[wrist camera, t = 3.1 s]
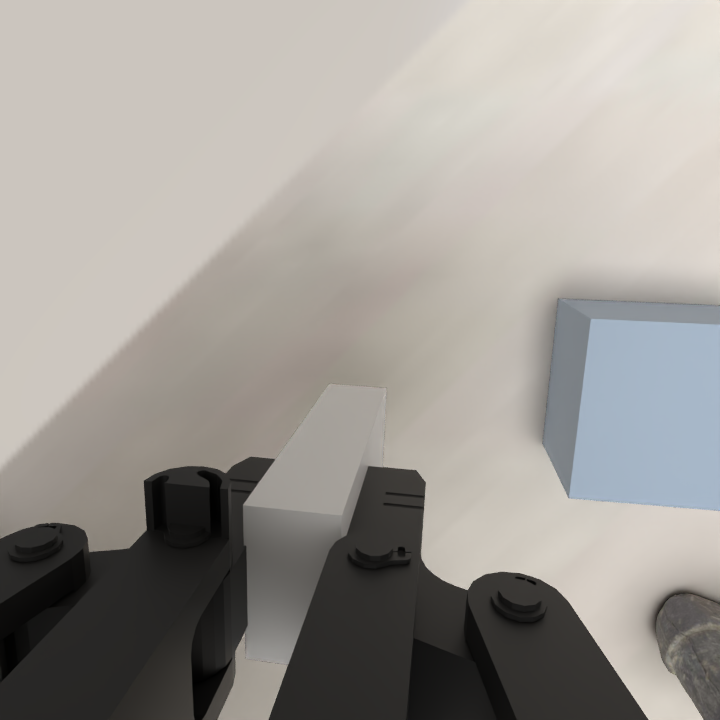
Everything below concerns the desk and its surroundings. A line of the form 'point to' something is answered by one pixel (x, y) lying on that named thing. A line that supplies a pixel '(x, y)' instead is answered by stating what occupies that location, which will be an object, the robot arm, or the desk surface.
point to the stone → (693, 648)
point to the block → (636, 402)
